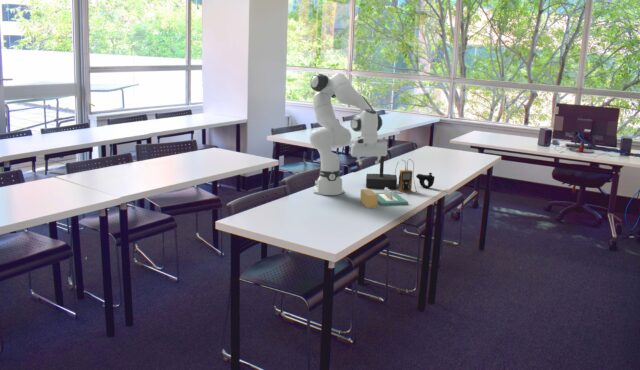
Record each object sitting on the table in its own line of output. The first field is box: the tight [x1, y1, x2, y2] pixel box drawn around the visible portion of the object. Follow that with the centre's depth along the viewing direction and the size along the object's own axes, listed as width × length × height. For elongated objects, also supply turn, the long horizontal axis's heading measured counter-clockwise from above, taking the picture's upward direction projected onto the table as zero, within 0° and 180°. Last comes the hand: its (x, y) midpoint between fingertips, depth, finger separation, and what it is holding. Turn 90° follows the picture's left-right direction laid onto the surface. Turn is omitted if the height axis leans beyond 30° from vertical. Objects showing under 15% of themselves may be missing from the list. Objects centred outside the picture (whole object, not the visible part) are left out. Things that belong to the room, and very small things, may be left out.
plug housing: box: [359, 188, 378, 209], centre depth 322 cm, size 14×6×7 cm, turn 13°
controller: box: [416, 172, 435, 189], centre depth 362 cm, size 4×12×10 cm, turn 48°
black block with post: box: [365, 156, 398, 190], centre depth 364 cm, size 19×17×20 cm
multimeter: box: [394, 158, 417, 195], centre depth 347 cm, size 15×10×20 cm
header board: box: [375, 188, 409, 207], centre depth 332 cm, size 22×16×6 cm
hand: (368, 164), depth 316 cm, fingers open, 8 cm apart
